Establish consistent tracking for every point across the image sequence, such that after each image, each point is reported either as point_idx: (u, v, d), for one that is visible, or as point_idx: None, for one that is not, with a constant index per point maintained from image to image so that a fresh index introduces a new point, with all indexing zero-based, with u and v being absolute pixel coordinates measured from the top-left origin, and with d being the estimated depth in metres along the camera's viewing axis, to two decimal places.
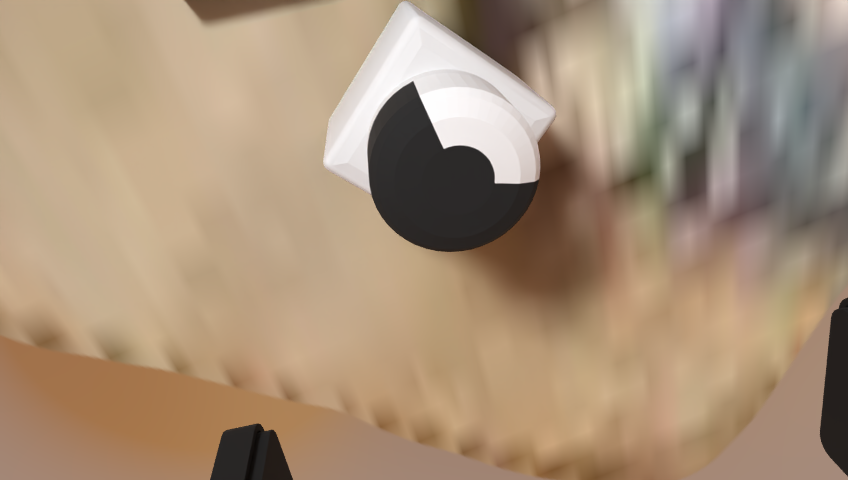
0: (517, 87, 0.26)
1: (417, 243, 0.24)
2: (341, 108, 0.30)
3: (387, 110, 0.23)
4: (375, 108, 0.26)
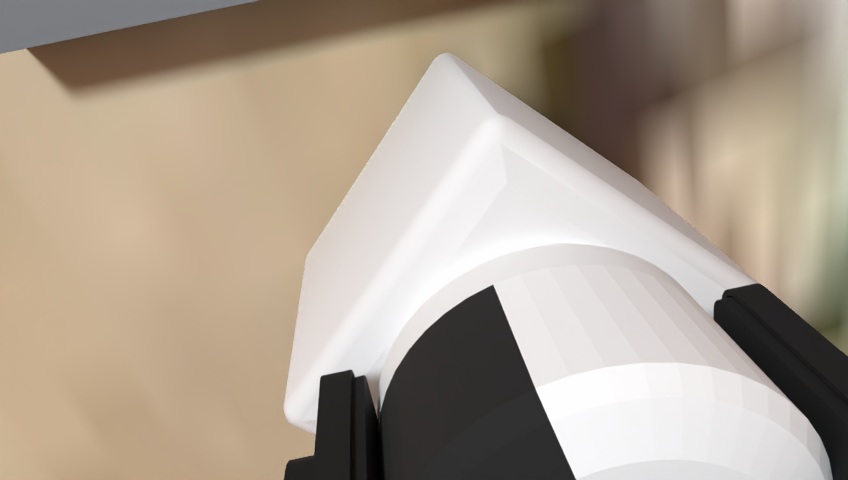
0: (706, 262, 0.12)
1: None
2: (326, 256, 0.16)
3: (434, 383, 0.09)
4: (396, 313, 0.12)
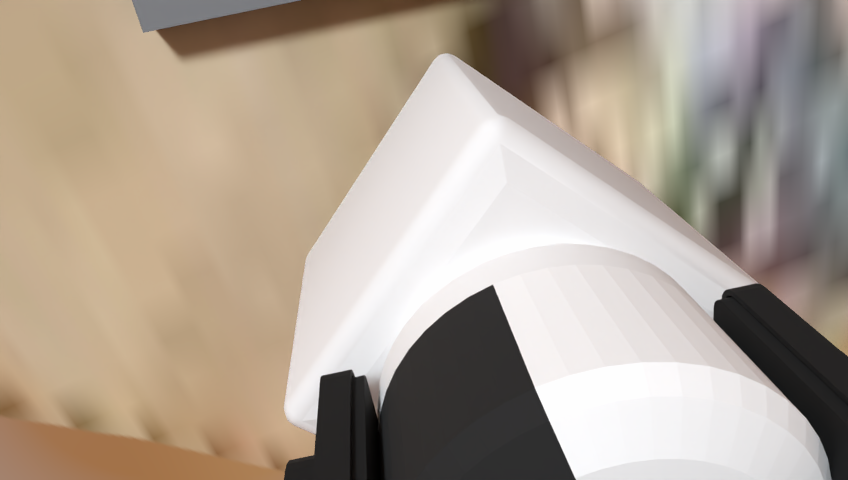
0: (704, 262, 0.12)
1: None
2: (326, 256, 0.16)
3: (434, 383, 0.09)
4: (396, 313, 0.12)
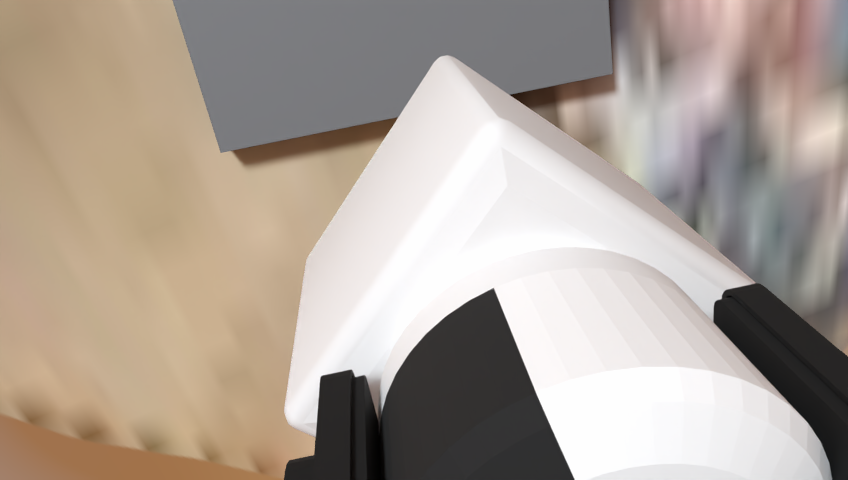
0: (706, 265, 0.12)
1: None
2: (326, 258, 0.16)
3: (435, 387, 0.09)
4: (396, 316, 0.12)
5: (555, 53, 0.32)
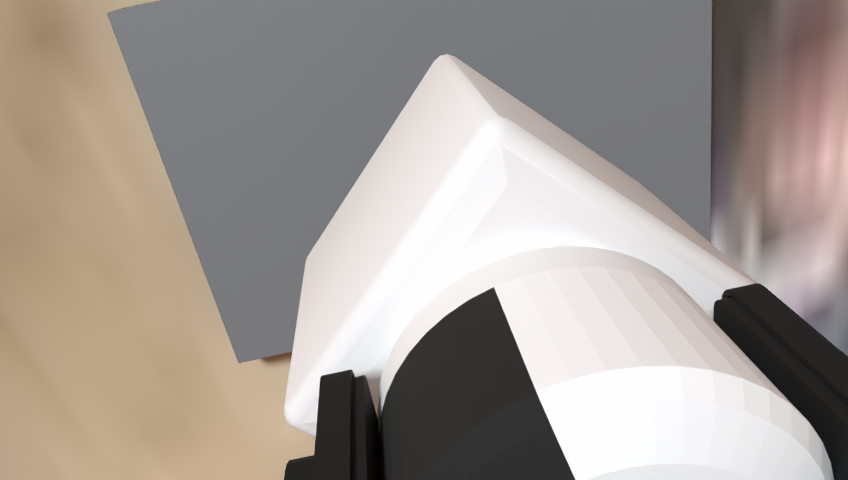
0: (706, 264, 0.12)
1: None
2: (326, 257, 0.16)
3: (435, 386, 0.09)
4: (396, 315, 0.12)
5: None
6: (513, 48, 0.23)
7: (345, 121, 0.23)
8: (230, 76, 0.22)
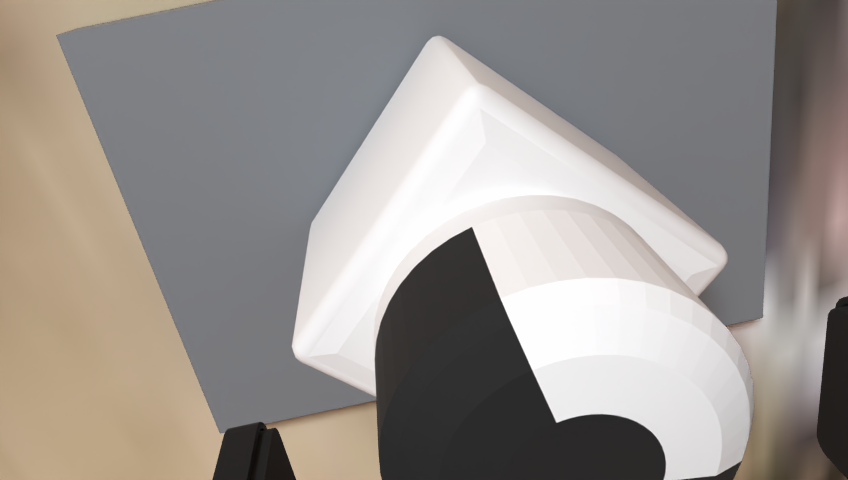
0: (662, 216, 0.14)
1: None
2: (329, 219, 0.18)
3: (420, 305, 0.10)
4: (390, 259, 0.13)
5: None
6: (541, 75, 0.19)
7: (343, 160, 0.20)
8: (205, 109, 0.19)
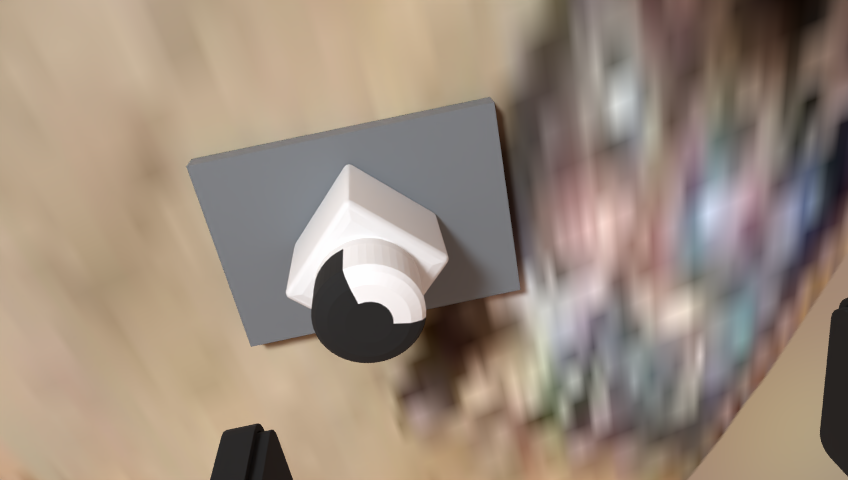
0: (419, 244, 0.38)
1: (345, 358, 0.35)
2: (301, 243, 0.42)
3: (324, 273, 0.35)
4: (320, 259, 0.37)
5: (479, 279, 0.47)
6: (397, 178, 0.43)
7: (309, 216, 0.44)
8: (248, 195, 0.43)
